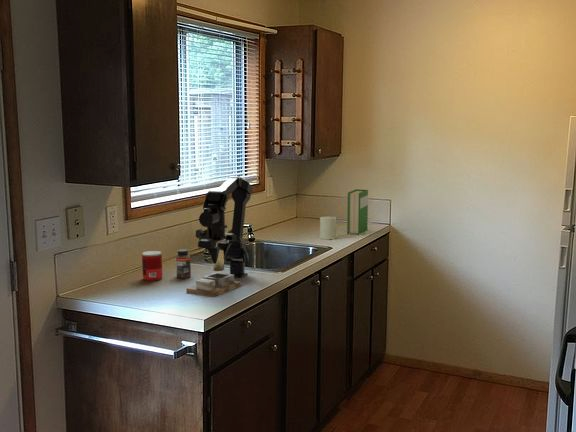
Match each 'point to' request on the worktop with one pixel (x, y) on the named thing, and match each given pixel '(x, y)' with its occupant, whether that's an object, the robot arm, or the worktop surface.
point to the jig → (214, 284)
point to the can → (328, 227)
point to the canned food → (152, 265)
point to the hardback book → (357, 211)
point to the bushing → (219, 261)
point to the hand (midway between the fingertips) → (218, 262)
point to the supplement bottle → (183, 264)
